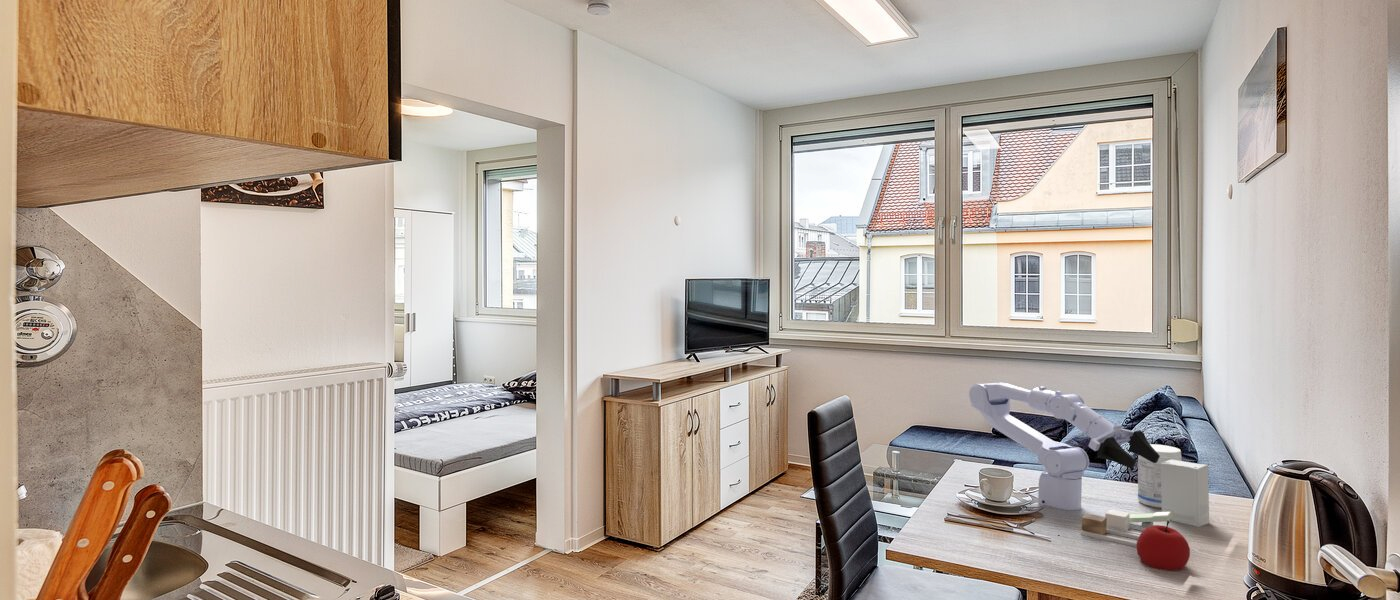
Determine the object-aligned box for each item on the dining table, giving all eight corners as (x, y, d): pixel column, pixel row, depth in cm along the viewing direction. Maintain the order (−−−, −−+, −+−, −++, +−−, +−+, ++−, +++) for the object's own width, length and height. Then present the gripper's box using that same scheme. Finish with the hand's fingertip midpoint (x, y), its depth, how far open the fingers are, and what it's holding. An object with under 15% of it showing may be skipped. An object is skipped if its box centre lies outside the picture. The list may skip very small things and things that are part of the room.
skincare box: (1209, 528, 171) (1211, 465, 171) (1197, 532, 168) (1199, 468, 168) (1170, 518, 178) (1172, 457, 178) (1158, 522, 175) (1160, 460, 175)
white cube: (1105, 528, 167) (1105, 513, 167) (1109, 524, 170) (1110, 509, 170) (1124, 532, 164) (1125, 517, 164) (1129, 528, 167) (1129, 513, 167)
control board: (1064, 537, 164) (1064, 524, 164) (1092, 515, 180) (1092, 503, 180) (1168, 561, 151) (1168, 547, 151) (1188, 534, 167) (1188, 522, 167)
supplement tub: (1159, 497, 195) (1160, 443, 195) (1190, 508, 186) (1191, 451, 186) (1128, 499, 193) (1129, 444, 193) (1158, 510, 184) (1159, 452, 184)
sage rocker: (1124, 522, 168) (1122, 517, 169) (1128, 518, 171) (1127, 513, 172) (1168, 521, 162) (1167, 515, 163) (1172, 517, 165) (1170, 511, 166)
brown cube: (1081, 532, 164) (1082, 517, 163) (1086, 528, 166) (1087, 513, 166) (1101, 537, 161) (1101, 521, 161) (1106, 532, 164) (1106, 517, 164)
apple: (1135, 558, 152) (1136, 510, 152) (1187, 566, 148) (1188, 517, 148) (1136, 573, 144) (1137, 523, 144) (1191, 583, 140) (1192, 531, 140)
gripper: (1079, 417, 171) (1129, 452, 160) (1123, 409, 177) (1174, 442, 165) (1070, 442, 174) (1118, 478, 163) (1113, 433, 180) (1162, 467, 169)
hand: (1145, 462), depth 164 cm, fingers open, 7 cm apart
